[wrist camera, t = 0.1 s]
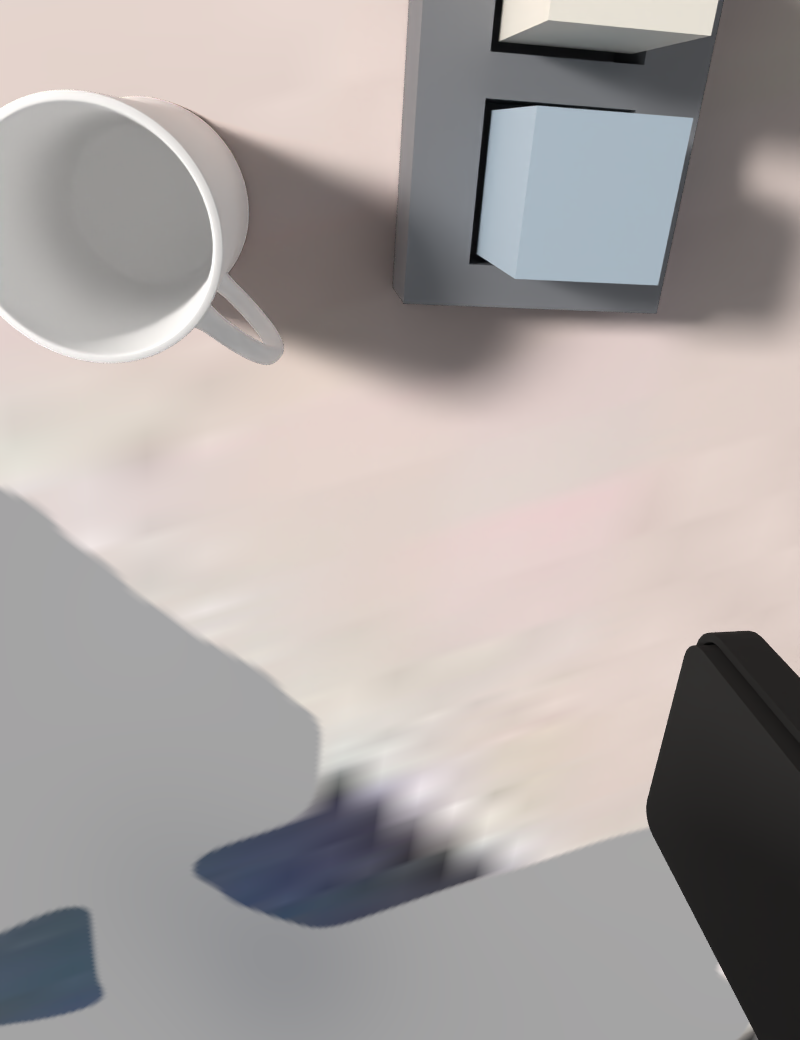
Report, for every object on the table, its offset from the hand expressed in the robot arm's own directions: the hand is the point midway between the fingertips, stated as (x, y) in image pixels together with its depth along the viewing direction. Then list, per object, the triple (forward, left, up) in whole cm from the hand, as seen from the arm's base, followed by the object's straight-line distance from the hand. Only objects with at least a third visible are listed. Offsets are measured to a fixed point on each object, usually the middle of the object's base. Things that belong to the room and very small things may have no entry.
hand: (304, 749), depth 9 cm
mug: (-2, -5, -31) cm, 32 cm away
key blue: (-5, +11, -28) cm, 30 cm away
